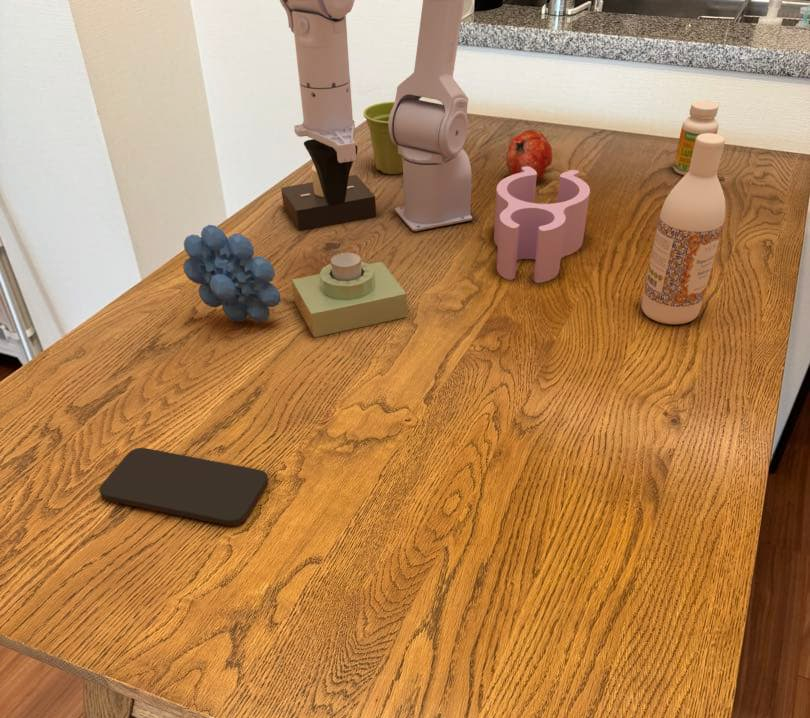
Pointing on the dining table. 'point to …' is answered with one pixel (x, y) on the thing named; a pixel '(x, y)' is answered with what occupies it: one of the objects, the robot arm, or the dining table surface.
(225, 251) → the grapes
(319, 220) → the dial panel
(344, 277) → the pink push button
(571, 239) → the clip
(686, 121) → the supplement bottle
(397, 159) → the plant pot
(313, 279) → the green button base
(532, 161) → the pomegranate
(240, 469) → the phone
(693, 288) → the bath foam
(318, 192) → the dial
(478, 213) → the dining table surface
